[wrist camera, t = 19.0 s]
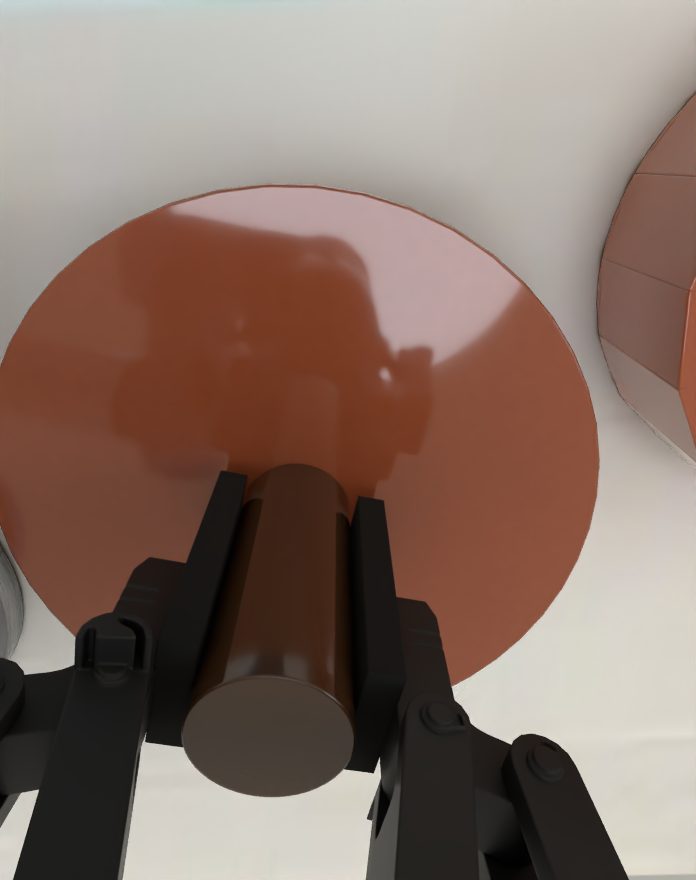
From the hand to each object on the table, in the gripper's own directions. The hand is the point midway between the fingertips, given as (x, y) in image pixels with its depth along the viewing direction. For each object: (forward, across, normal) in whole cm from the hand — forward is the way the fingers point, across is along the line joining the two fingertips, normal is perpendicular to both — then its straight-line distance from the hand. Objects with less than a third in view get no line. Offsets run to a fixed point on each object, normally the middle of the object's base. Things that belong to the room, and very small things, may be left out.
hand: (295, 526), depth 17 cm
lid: (+1, 0, 0) cm, 1 cm away
